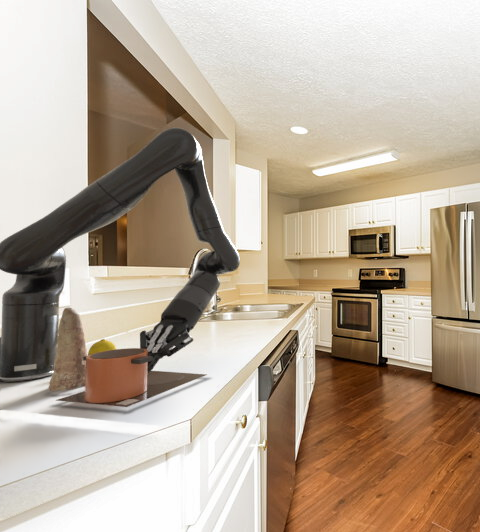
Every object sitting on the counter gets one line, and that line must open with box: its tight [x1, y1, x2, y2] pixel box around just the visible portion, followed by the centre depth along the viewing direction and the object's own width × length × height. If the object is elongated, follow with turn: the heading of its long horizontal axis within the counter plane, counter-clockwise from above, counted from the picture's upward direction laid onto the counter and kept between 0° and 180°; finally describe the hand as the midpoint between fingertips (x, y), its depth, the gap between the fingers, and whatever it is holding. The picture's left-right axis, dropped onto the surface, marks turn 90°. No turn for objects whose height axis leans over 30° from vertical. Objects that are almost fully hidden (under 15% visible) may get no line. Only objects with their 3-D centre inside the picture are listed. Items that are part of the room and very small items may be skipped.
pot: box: [83, 347, 153, 403], centre depth 67 cm, size 13×9×8 cm
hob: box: [55, 370, 208, 408], centre depth 72 cm, size 16×20×1 cm
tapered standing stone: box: [48, 307, 88, 392], centre depth 71 cm, size 6×18×6 cm
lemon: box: [87, 338, 117, 356], centre depth 86 cm, size 6×6×8 cm
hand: (141, 371), depth 72 cm, fingers closed
